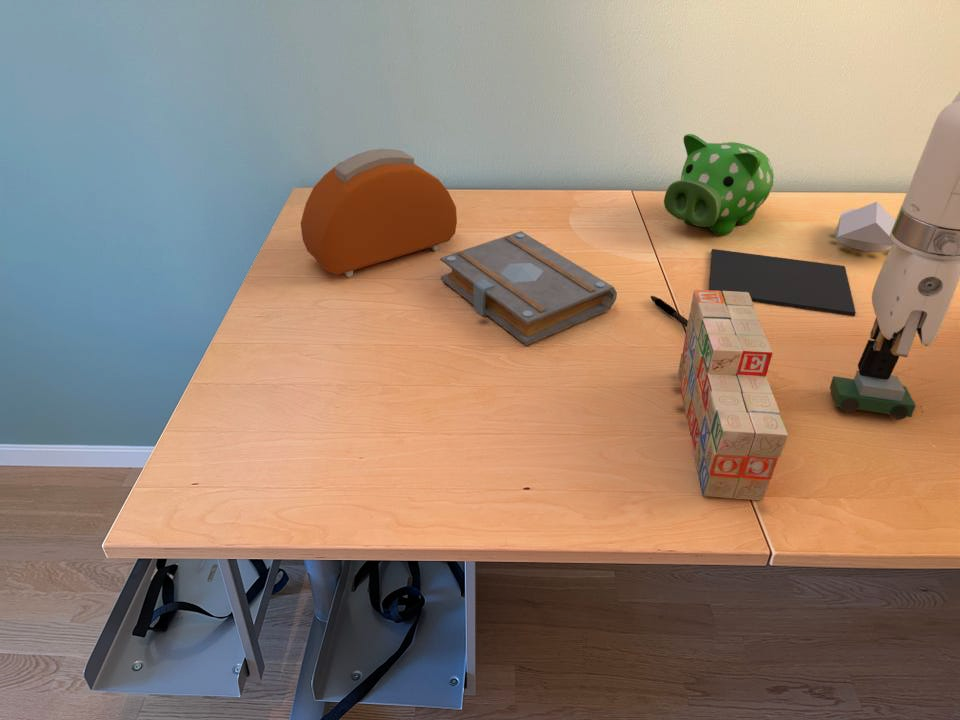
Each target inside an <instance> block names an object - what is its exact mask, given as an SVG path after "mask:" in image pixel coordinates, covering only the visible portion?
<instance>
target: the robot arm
mask: <svg viewBox="0 0 960 720" xmlns="http://www.w3.org/2000/svg"><path fill="white" fill-rule="evenodd" d="M918 160H919V161H918V163H917V165H916V168H915V170H914V173H913V175H912V178H911V181H910V183H909V185H908V189H907V191H906V194H905V197H904V199H903V201H902V203H901V206H900V208H899V211H898V213H897V215H896V218H895V219H896V220H895V223H894V225H893V228H892V231H891V233H890V238H891V240H892V241H893V244H892V247H891V248H890V249H889V250H888V253H887V254H886V257H885V259H884V261H883V263H882V265H881V269H880V271H879V273H878V276H877V277H876V281H875V283H874V287H873V290H872V293H871V304H872V307H873V311H874V314H875V320H874V322H873V324H872V327H871V330H870V334H869V339H868V340H867V342H866V344H865V347H864V348H863V352H862V353H861V356H860V359H859V360H858V363H857V368H858V371H859V373H860V375H861V376H867V377H873V378H880V379H889V378H890V376H891V375H893V374H892V373H894V372H893V371H894V369H895V367H896V365H897V363H898V360H899V358H900V357H901V358H908V357H909V354H910V351H911V348H912V345H913V343H914V340H915V336H916V333H917V335H918V338H919V340H920V343H921V345H924V347H930V346H931V345H933V344H934V343H935V341H936V339H937V336H938V333H939V332H940V329H941V328H942V325H943V322H944V321H945V318H946V315H947V314H948V311H949V308H950V306H951V303H952V301H953V298H954V296H955V292H956V290H957V288H958V285H959V282H960V91H959V92H958V93H957V95H956V96H955V97H954V99H953V100H952V101H951V103H949V104H948V105H946V106H945V107H944V108H942V109H941V111H940V112H939V113H938V115H937V117H936V119H935V121H934V123H933V125H932V128H931V131H930V133H929V135H928V138H927V141H926V143H925V145H924V148H923V151H922V153H921V155H920V158H919V159H918Z"/></svg>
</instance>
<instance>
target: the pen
mask: <svg viewBox="0 0 960 720" xmlns="http://www.w3.org/2000/svg"><path fill="white" fill-rule="evenodd" d="M650 300H651V301H652V303H654V304H655V306H657V307H658V308H659V309H660V310H661V311H663V312H664V313H665V314H666V315H668V316H670V317H671V318H673V319H675V320H676V321H677V322H678V323H680V324H681V325H682V326H684V327H685V328H687V324H688V319H687V318H686V317H684V316H683V315H681V314H680V313H679V312H678V310H677V309H675V308H674V307H672V306H671V305H670V304H668V303H667V302H665V301H664V300H663V299H661V298H659V297H657V296H654V295H650Z"/></svg>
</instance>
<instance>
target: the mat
mask: <svg viewBox="0 0 960 720" xmlns="http://www.w3.org/2000/svg"><path fill="white" fill-rule="evenodd" d="M709 266H710V268H709V279H708V280H709V281H708V290H712V291H721V292H722V291H734V292H748V293H749V294H750V297H751V300H752V302H753V303H763V304H768V305H776V306H783V307H790V308H797V309H802V310H810V311H817V312H825V313H831V314H837V315H845V316H852V317H855V316H856V313H857V312H856V308H855V304H854V298H853V296H852V295H853V294H852V291H851V286H850V281H849V277H848V273H847V270H846V266H845V265H840V264H834V263H827V262H817V261H810V260H803V259H794V258H786V257H780V256H779V257H778V256H770V255H763V254H756V253H747V252H740V251H734V250H724V249H718V248H712V249H711V255H710V265H709Z"/></svg>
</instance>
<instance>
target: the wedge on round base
mask: <svg viewBox="0 0 960 720" xmlns="http://www.w3.org/2000/svg"><path fill="white" fill-rule="evenodd" d="M895 220H896V218H895V217H893V216H892V215H891V214H890V212H888V211H887V210H886V209H885V208H884V207H883V206H882V205H881V204H880V202H878V201H875V202H874V201H873V202H872V203H869V204H867V205H864V206H861V207H859V208H852V209H851V208H850V209H847V210H844V211H842V212H841V213H840V217H839V219H838V222H837V225H836V228H835V231H834V237H835V239H836V240H837V241H838V242H840V243H841V244H842V245H844V246H846V247H848V248H851V249H855V250H859V251H864V252H875V253H877V252H879V253H880V252H886V251H890V249H891V247H892V244H893V241H892V240H891V238H890V233H891V231H892V228H893V225H894V223H895Z"/></svg>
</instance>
